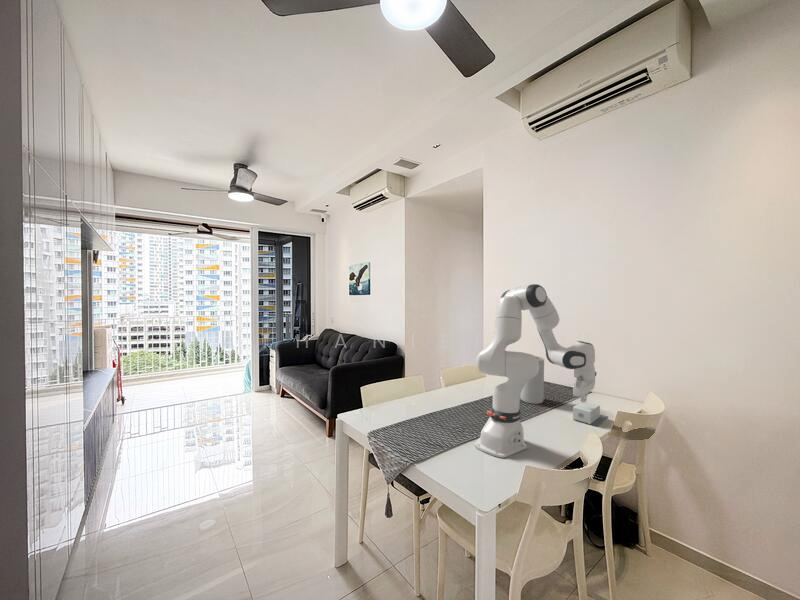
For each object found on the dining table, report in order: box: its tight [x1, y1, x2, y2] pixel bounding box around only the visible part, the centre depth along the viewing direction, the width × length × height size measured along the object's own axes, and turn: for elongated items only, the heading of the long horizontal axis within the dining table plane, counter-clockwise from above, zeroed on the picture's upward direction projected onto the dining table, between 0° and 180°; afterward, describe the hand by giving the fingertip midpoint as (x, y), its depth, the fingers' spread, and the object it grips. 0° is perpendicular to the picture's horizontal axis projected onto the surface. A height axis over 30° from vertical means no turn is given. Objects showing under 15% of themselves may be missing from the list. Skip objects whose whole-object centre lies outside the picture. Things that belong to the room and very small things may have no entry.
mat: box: [576, 414, 608, 427], centre depth 158 cm, size 16×9×1 cm, turn 133°
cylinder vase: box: [520, 355, 545, 405], centre depth 184 cm, size 12×12×25 cm
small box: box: [572, 401, 601, 425], centre depth 158 cm, size 8×6×13 cm
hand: (583, 401), depth 156 cm, fingers closed
